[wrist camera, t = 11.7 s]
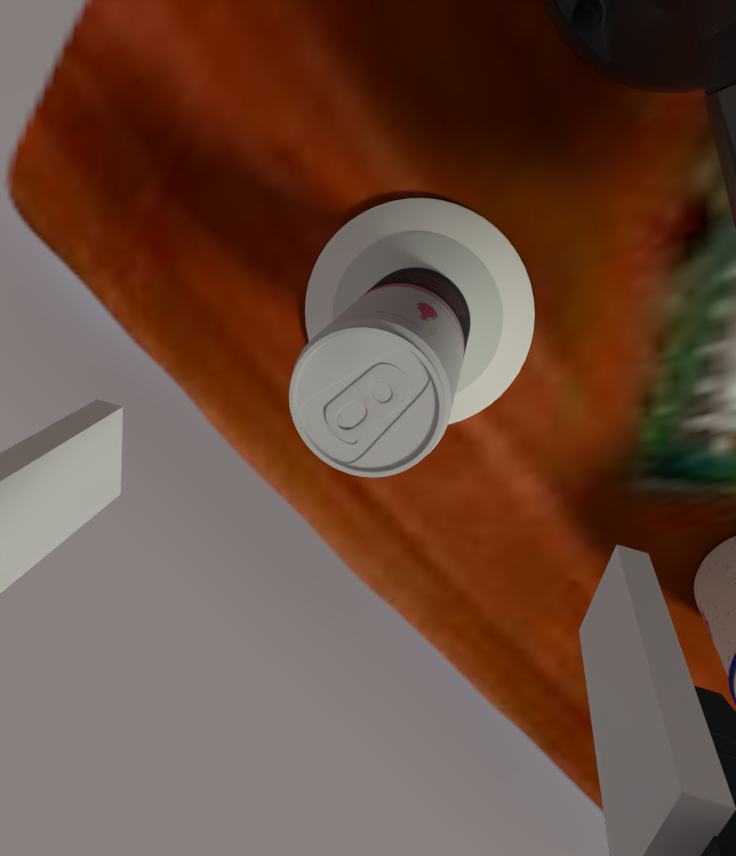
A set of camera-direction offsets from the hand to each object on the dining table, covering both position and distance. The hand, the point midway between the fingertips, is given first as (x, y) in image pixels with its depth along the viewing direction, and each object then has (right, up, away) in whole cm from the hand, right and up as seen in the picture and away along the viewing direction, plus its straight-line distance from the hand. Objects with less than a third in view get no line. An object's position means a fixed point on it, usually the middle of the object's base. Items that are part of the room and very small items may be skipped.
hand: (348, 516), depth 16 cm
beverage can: (+3, +9, +22) cm, 24 cm away
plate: (+3, +9, +22) cm, 24 cm away
